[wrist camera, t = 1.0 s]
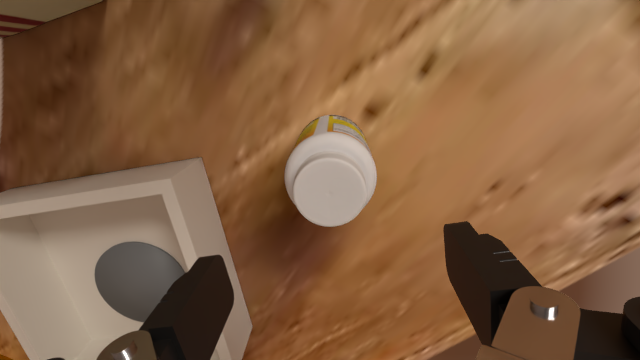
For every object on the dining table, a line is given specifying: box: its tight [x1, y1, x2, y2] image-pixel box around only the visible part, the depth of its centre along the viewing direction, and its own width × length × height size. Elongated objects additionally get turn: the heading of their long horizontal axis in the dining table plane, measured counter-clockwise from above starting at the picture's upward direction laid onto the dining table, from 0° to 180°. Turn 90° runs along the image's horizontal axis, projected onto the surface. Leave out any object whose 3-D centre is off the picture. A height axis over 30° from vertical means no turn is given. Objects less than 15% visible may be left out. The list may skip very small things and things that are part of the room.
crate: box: [0, 157, 252, 360], centre depth 29 cm, size 18×18×6 cm
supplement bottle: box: [285, 115, 377, 227], centre depth 22 cm, size 6×6×10 cm
